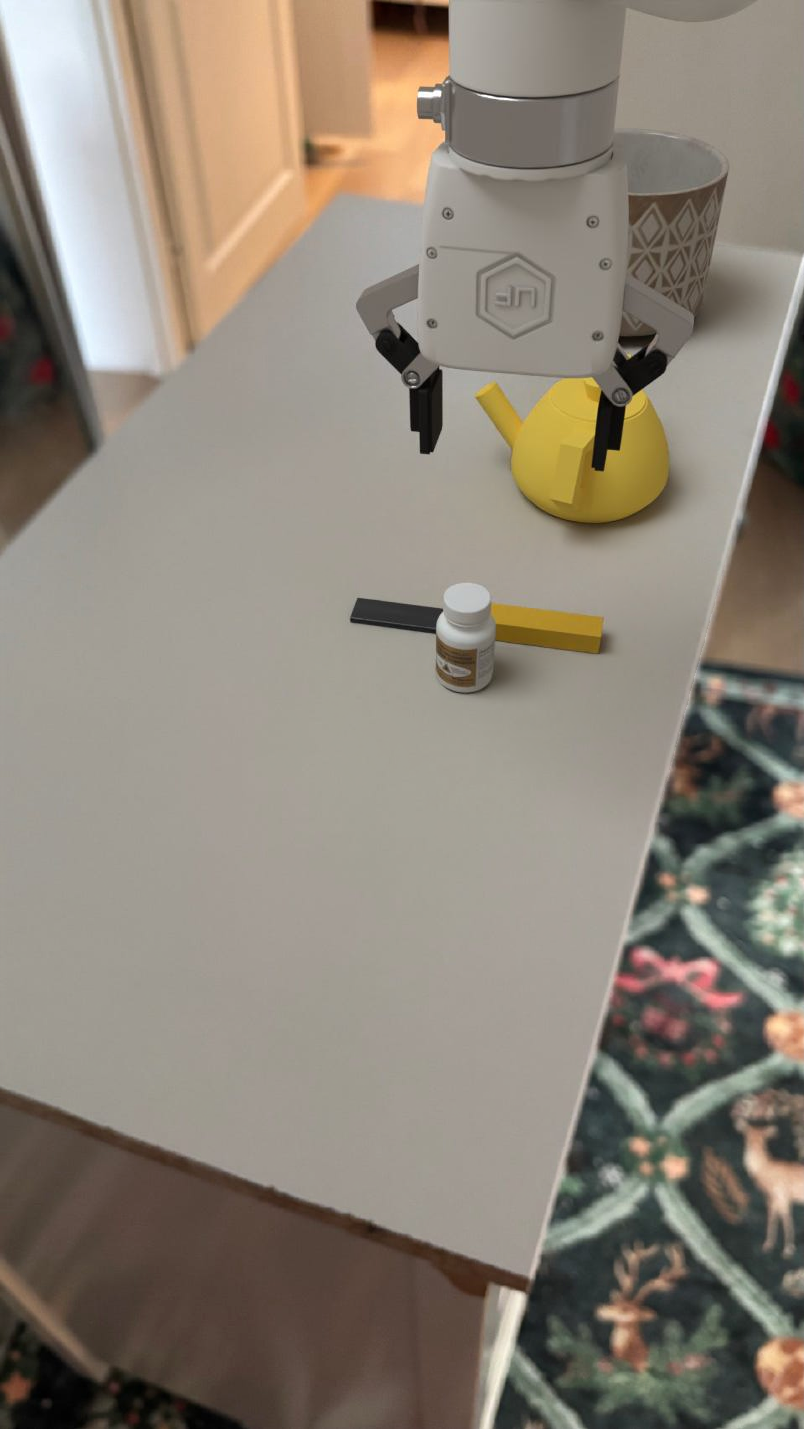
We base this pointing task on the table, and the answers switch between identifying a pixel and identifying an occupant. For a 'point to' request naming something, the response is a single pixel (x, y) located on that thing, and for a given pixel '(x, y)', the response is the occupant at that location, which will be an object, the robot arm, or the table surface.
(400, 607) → the knife
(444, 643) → the pill bottle
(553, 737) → the table surface
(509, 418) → the teapot
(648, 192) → the planter
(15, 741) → the table surface
